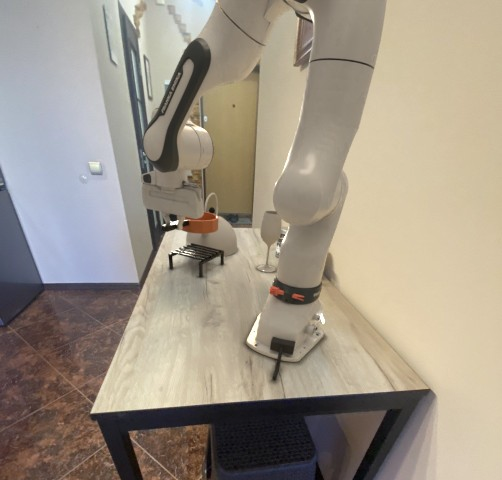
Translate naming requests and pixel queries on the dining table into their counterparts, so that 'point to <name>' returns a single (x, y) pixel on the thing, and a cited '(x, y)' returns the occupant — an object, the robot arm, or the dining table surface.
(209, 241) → the kettle
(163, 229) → the pan
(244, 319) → the dining table surface
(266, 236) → the wineglass
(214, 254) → the rack
